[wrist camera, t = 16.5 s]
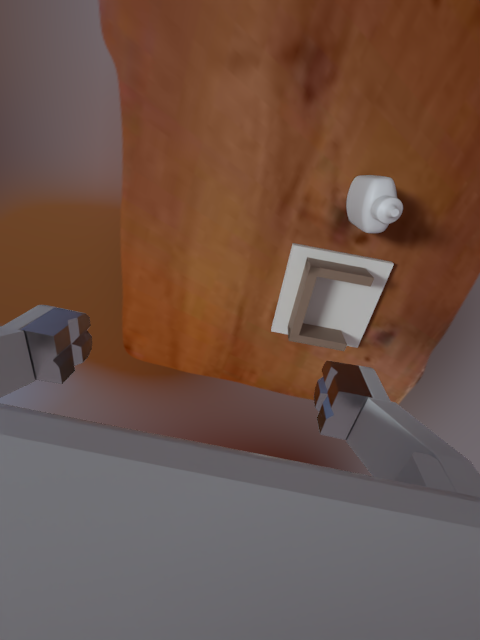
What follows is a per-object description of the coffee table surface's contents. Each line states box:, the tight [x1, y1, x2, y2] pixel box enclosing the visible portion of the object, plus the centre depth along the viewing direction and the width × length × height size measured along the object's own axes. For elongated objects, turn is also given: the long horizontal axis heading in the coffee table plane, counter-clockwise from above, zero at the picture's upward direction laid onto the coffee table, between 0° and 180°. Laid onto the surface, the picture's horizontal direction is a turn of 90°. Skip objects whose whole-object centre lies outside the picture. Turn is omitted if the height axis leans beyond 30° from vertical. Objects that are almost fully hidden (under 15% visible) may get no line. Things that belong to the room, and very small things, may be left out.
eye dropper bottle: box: [346, 175, 403, 233], centre depth 32 cm, size 4×6×12 cm
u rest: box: [271, 243, 394, 351], centre depth 41 cm, size 14×14×5 cm
